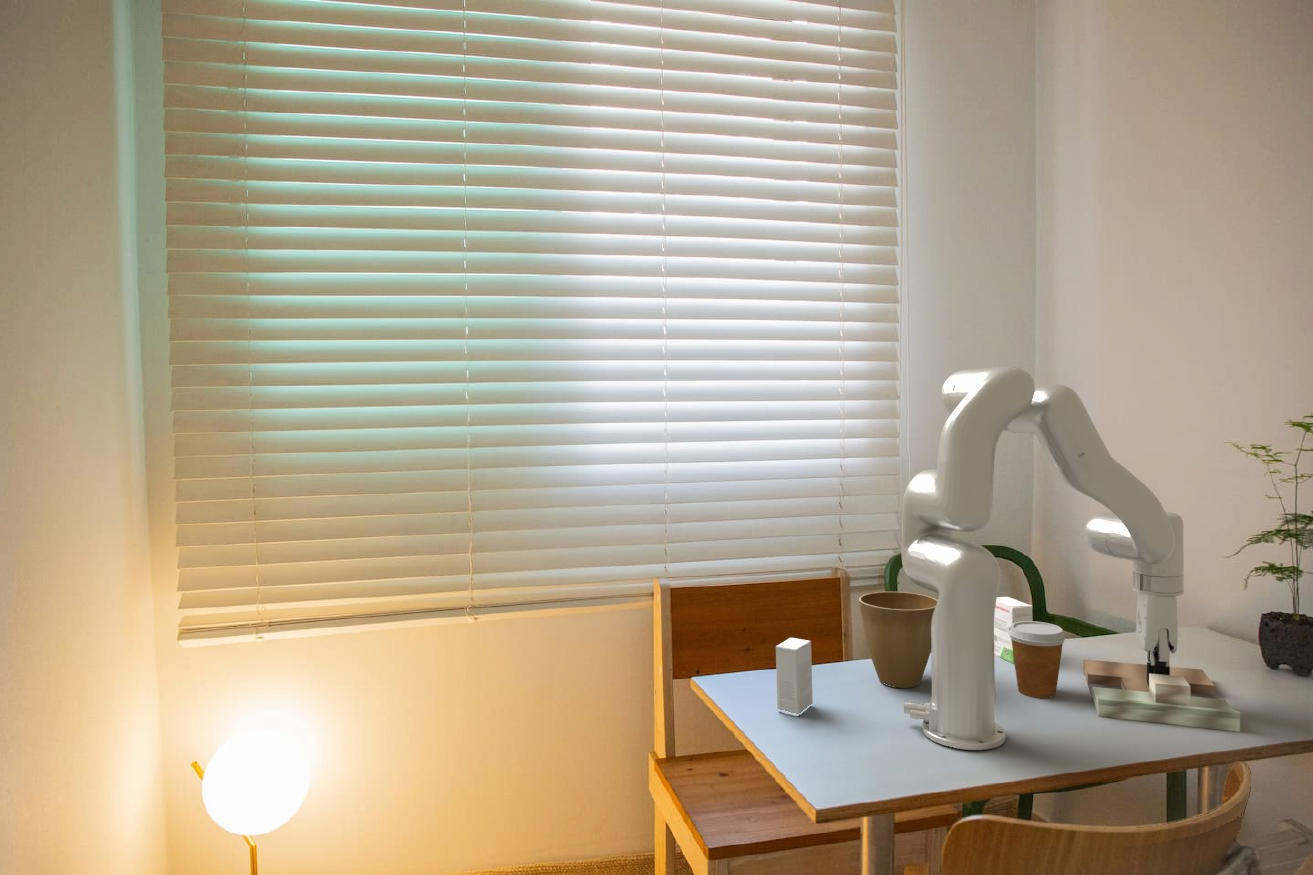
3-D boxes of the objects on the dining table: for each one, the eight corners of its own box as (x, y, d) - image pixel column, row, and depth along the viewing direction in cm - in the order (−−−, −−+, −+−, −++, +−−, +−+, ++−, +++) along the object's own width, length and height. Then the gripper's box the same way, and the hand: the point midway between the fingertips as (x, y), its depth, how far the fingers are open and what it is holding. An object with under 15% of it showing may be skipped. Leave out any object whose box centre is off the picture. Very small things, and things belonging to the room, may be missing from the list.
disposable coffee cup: (997, 687, 152) (996, 623, 152) (1038, 680, 155) (1037, 618, 154) (1035, 704, 143) (1035, 637, 142) (1078, 697, 146) (1078, 631, 145)
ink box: (1034, 662, 165) (1034, 605, 165) (1012, 664, 164) (1012, 606, 164) (1008, 649, 174) (1008, 595, 173) (987, 651, 173) (987, 597, 172)
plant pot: (942, 698, 147) (941, 611, 146) (857, 691, 152) (856, 607, 151) (940, 671, 161) (939, 592, 160) (862, 666, 166) (861, 588, 165)
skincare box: (791, 701, 148) (790, 636, 147) (813, 706, 145) (812, 640, 145) (776, 712, 143) (774, 645, 142) (798, 717, 140) (797, 649, 140)
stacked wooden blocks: (1098, 716, 137) (1098, 698, 137) (1082, 669, 160) (1082, 654, 160) (1240, 731, 130) (1240, 713, 130) (1202, 679, 153) (1202, 664, 153)
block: (1155, 706, 136) (1155, 683, 135) (1149, 696, 140) (1149, 673, 140) (1190, 710, 134) (1190, 686, 134) (1182, 699, 138) (1182, 676, 138)
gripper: (1126, 572, 149) (1126, 670, 150) (1140, 591, 135) (1141, 699, 136) (1173, 574, 146) (1174, 674, 147) (1193, 594, 132) (1193, 704, 133)
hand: (1158, 686), depth 142 cm, fingers closed
